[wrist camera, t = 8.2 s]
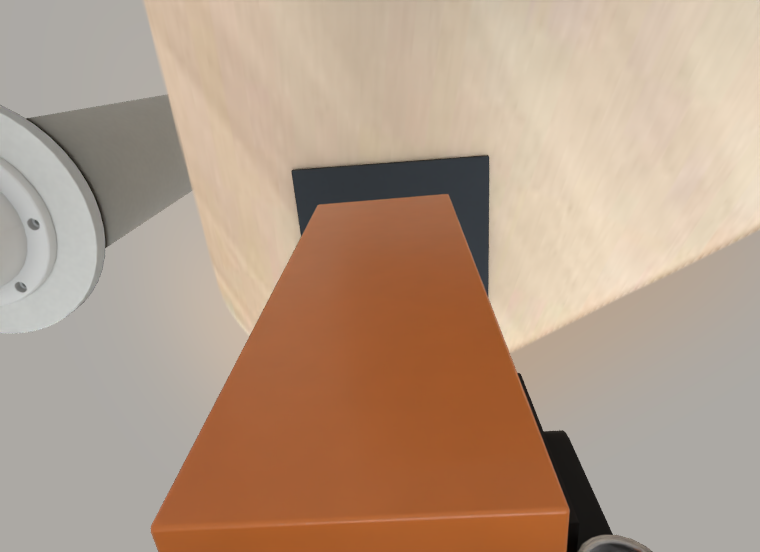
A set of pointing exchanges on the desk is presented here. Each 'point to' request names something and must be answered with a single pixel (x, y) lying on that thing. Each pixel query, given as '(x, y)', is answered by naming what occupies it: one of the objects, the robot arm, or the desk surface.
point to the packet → (371, 407)
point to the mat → (407, 192)
